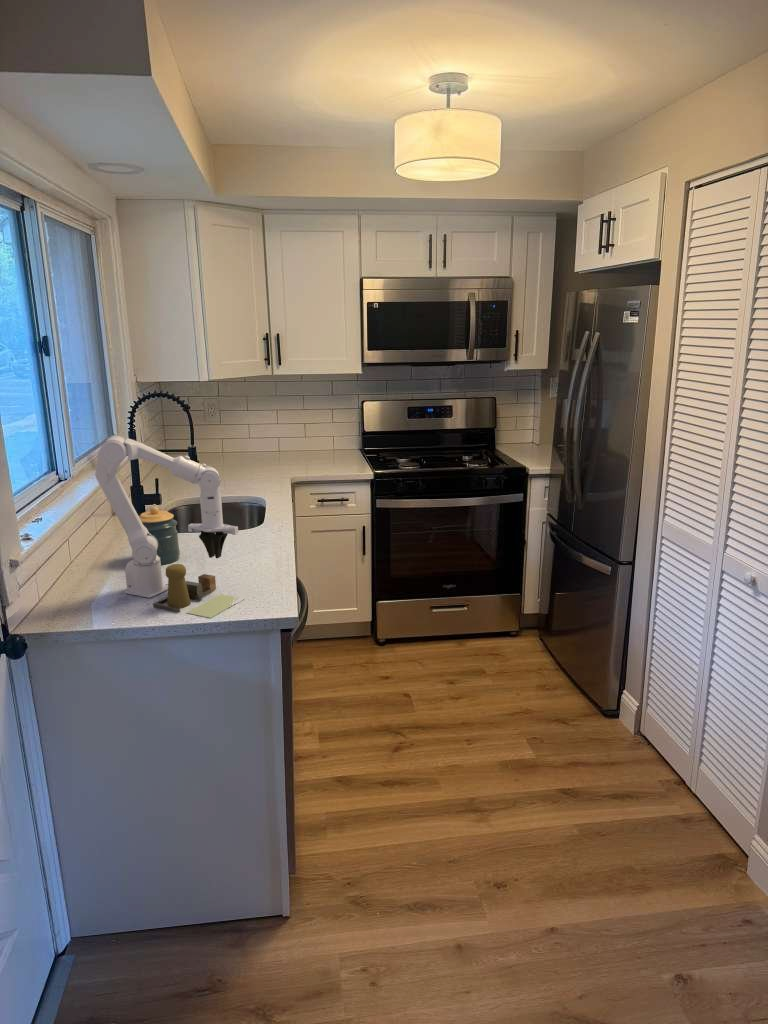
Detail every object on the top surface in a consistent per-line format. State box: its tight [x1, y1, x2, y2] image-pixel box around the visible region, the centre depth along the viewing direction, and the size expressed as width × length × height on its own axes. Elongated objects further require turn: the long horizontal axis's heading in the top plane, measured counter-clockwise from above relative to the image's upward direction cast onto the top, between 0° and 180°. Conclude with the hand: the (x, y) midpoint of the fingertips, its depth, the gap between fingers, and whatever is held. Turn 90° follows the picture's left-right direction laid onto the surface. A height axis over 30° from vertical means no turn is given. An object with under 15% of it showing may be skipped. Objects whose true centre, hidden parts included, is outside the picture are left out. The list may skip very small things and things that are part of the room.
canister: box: [138, 505, 181, 566], centre depth 215 cm, size 13×13×18 cm
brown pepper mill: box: [165, 563, 191, 609], centre depth 179 cm, size 6×6×11 cm
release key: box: [188, 573, 217, 595], centre depth 188 cm, size 4×8×4 cm, turn 155°
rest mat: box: [186, 594, 239, 619], centre depth 179 cm, size 8×14×1 cm, turn 155°
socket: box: [152, 580, 212, 614], centre depth 183 cm, size 8×15×4 cm, turn 155°
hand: (215, 557), depth 192 cm, fingers closed
